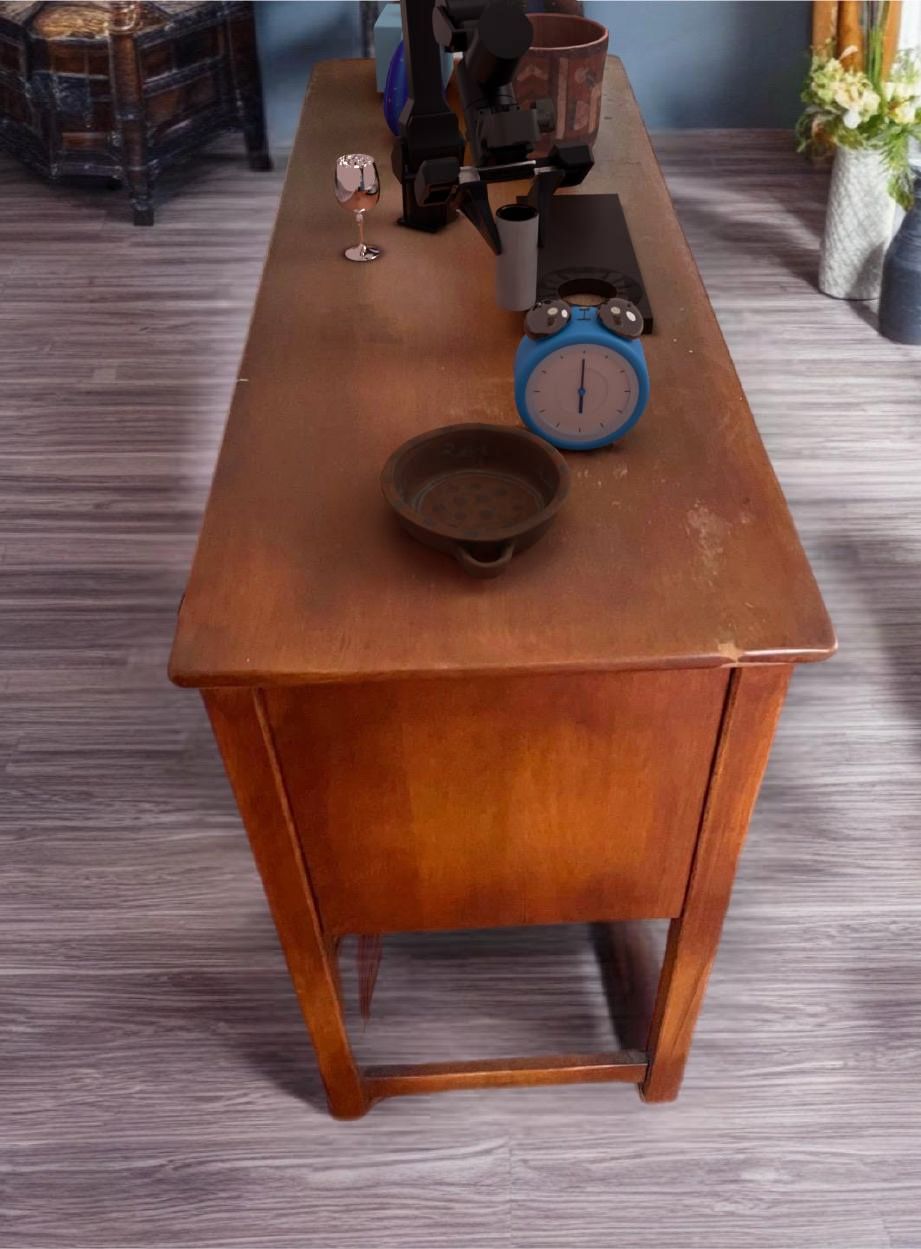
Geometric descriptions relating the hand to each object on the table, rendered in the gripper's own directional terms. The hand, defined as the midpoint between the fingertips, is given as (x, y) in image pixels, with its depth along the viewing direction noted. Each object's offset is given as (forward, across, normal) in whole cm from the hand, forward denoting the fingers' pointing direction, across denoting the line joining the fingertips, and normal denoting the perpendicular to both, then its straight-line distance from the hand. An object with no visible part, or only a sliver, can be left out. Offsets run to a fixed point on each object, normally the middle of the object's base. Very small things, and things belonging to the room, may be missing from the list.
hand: (520, 251), depth 126 cm
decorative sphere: (-44, +27, +64) cm, 82 cm away
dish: (+28, -14, -11) cm, 33 cm away
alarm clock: (+22, 0, -4) cm, 22 cm away
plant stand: (-4, +14, +22) cm, 27 cm away
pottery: (-29, +22, +48) cm, 60 cm away
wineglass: (-13, -11, +31) cm, 35 cm away
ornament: (-39, +6, +58) cm, 70 cm away
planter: (+4, 0, +6) cm, 7 cm away
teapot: (-55, +13, +75) cm, 94 cm away
